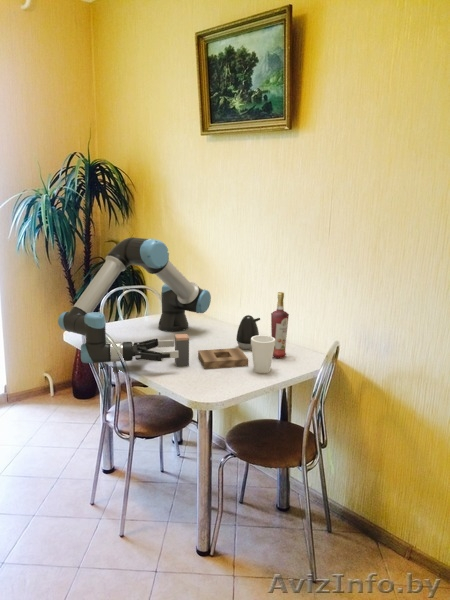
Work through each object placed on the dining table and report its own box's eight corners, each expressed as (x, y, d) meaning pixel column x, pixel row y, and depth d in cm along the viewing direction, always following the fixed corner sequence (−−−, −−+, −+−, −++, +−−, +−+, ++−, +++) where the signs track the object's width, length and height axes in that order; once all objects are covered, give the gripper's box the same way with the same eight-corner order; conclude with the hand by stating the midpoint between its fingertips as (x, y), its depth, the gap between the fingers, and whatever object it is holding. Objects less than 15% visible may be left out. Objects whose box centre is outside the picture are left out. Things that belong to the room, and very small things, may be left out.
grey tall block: (176, 366, 192) (176, 338, 190) (175, 362, 197) (174, 334, 194) (189, 366, 193) (189, 337, 191) (187, 361, 198) (187, 333, 195)
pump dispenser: (257, 352, 211) (258, 319, 207) (234, 350, 213) (235, 317, 209) (260, 345, 221) (261, 313, 217) (238, 343, 223) (239, 311, 219)
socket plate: (204, 369, 190) (204, 361, 190) (198, 357, 204) (198, 350, 203) (248, 366, 195) (248, 359, 194) (239, 354, 208) (239, 347, 207)
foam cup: (261, 364, 197) (262, 333, 194) (278, 370, 191) (280, 339, 188) (245, 369, 190) (246, 338, 188) (262, 376, 184) (264, 344, 181)
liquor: (277, 360, 201) (280, 295, 195) (265, 355, 207) (268, 292, 201) (290, 357, 205) (293, 293, 199) (278, 352, 211) (281, 290, 205)
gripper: (121, 350, 201) (172, 347, 205) (123, 372, 177) (180, 368, 182) (121, 333, 199) (172, 330, 204) (122, 353, 175) (180, 349, 180)
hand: (176, 348), depth 193 cm, fingers open, 13 cm apart
